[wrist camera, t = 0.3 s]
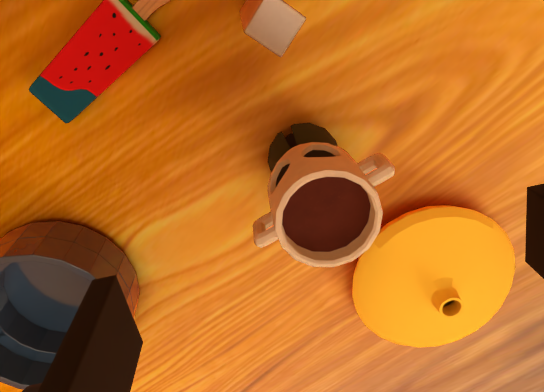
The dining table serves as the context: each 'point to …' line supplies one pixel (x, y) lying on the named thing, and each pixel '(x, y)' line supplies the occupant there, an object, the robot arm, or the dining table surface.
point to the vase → (433, 276)
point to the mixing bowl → (50, 291)
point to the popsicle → (96, 56)
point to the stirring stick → (271, 23)
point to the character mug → (321, 198)
